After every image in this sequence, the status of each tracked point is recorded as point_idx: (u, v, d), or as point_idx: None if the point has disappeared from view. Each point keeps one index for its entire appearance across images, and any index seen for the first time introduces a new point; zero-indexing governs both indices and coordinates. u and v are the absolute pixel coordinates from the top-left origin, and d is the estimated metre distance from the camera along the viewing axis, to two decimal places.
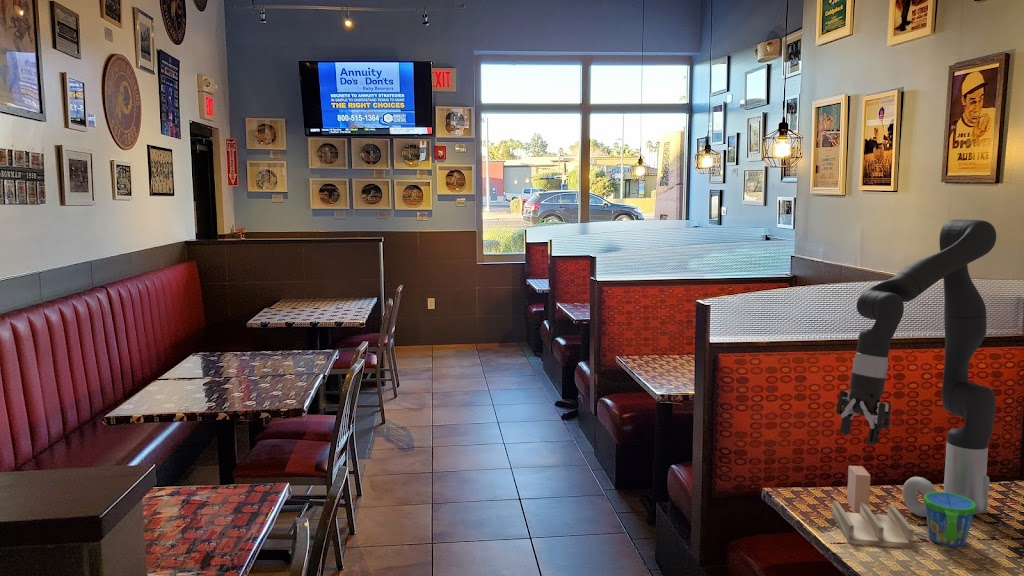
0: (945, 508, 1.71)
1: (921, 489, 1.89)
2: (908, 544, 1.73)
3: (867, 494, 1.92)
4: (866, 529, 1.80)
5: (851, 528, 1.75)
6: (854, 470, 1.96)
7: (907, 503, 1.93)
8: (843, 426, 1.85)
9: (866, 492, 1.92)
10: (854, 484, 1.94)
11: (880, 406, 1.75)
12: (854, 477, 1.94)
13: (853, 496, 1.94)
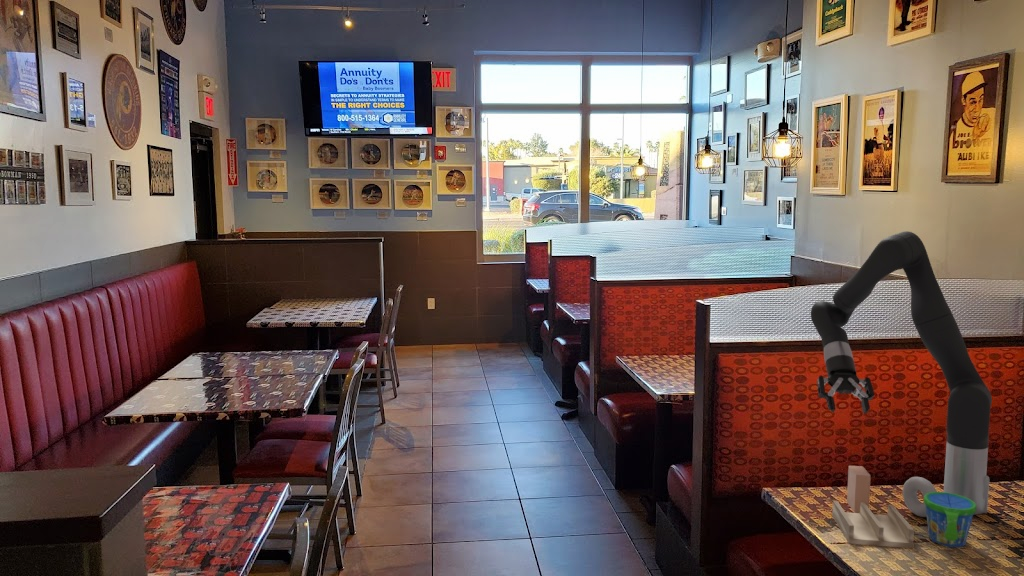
0: (945, 508, 1.71)
1: (921, 489, 1.89)
2: (908, 544, 1.73)
3: (867, 494, 1.92)
4: (866, 529, 1.80)
5: (851, 528, 1.75)
6: (854, 470, 1.96)
7: (907, 503, 1.93)
8: None
9: (866, 492, 1.92)
10: (854, 484, 1.94)
11: None
12: (854, 477, 1.94)
13: (853, 496, 1.94)
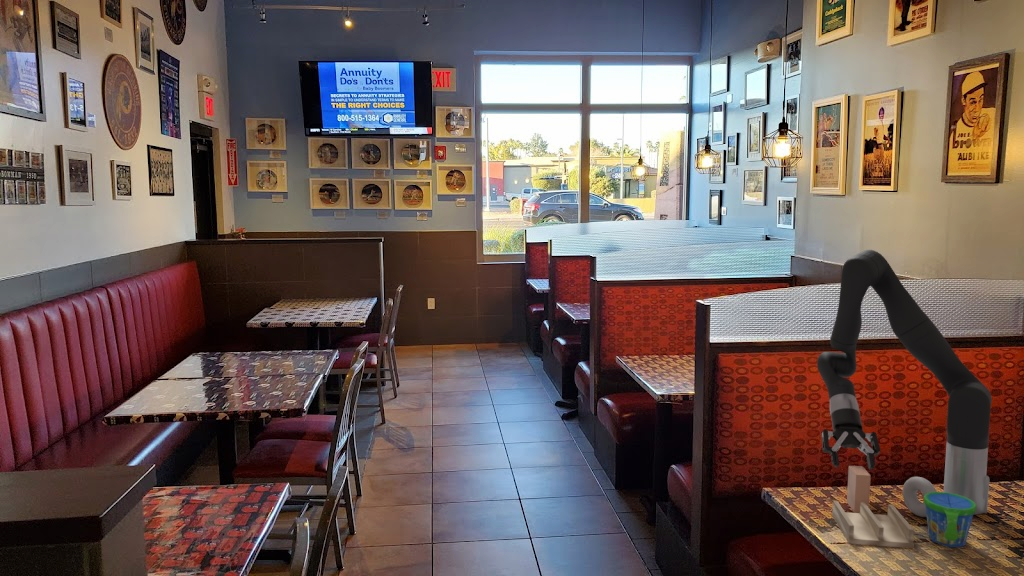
0: (945, 508, 1.71)
1: (921, 489, 1.88)
2: (908, 544, 1.73)
3: (867, 494, 1.92)
4: (866, 529, 1.80)
5: (851, 528, 1.75)
6: (854, 470, 1.96)
7: (907, 503, 1.93)
8: None
9: (866, 492, 1.92)
10: (854, 484, 1.94)
11: None
12: (854, 477, 1.94)
13: (853, 496, 1.94)
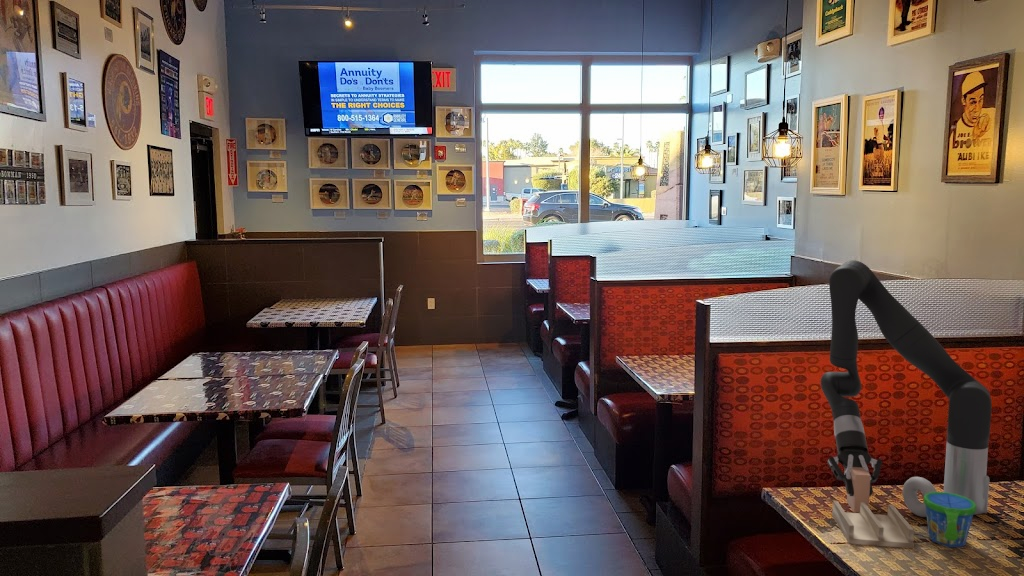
0: (945, 508, 1.71)
1: (921, 489, 1.89)
2: (908, 544, 1.73)
3: (867, 494, 1.92)
4: (866, 529, 1.80)
5: (851, 528, 1.75)
6: (854, 470, 1.96)
7: (907, 503, 1.93)
8: None
9: (866, 492, 1.92)
10: (854, 484, 1.94)
11: None
12: (854, 477, 1.94)
13: (853, 495, 1.94)
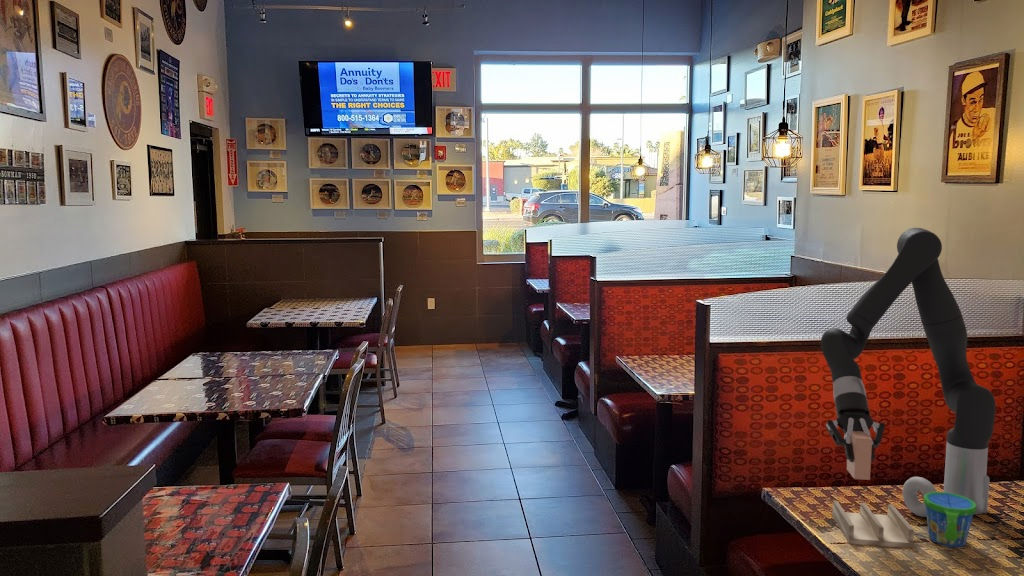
0: (945, 508, 1.71)
1: (921, 489, 1.89)
2: (908, 544, 1.73)
3: (868, 459, 1.78)
4: (866, 529, 1.80)
5: (851, 528, 1.75)
6: (854, 434, 1.81)
7: (907, 503, 1.93)
8: None
9: (867, 457, 1.78)
10: (854, 448, 1.79)
11: None
12: (854, 441, 1.79)
13: (853, 461, 1.79)
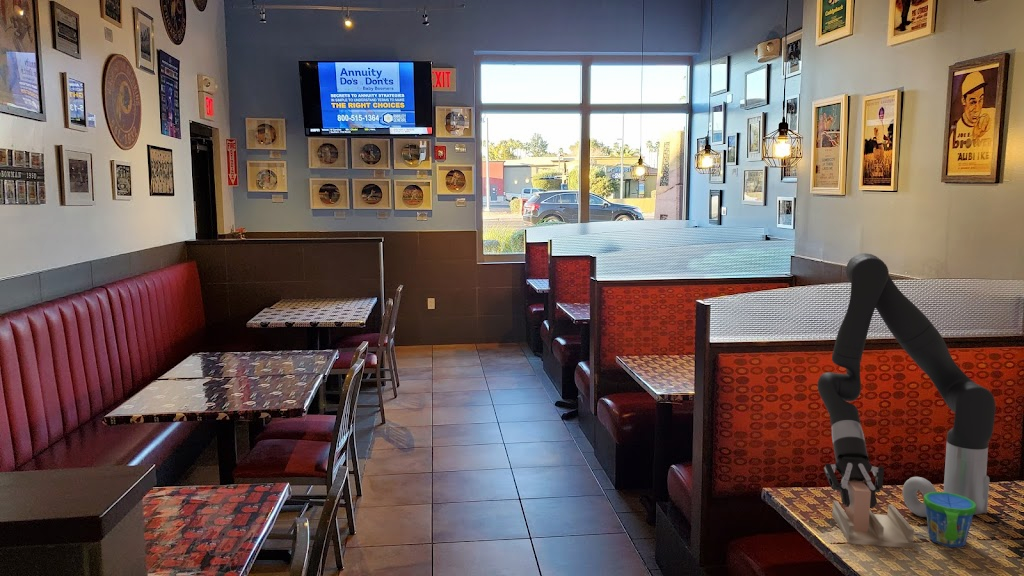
0: (945, 508, 1.71)
1: (921, 489, 1.89)
2: (908, 544, 1.73)
3: (867, 511, 1.78)
4: None
5: (851, 528, 1.75)
6: (853, 485, 1.81)
7: (907, 503, 1.93)
8: None
9: (866, 510, 1.78)
10: (853, 500, 1.80)
11: None
12: (853, 493, 1.80)
13: (852, 513, 1.80)
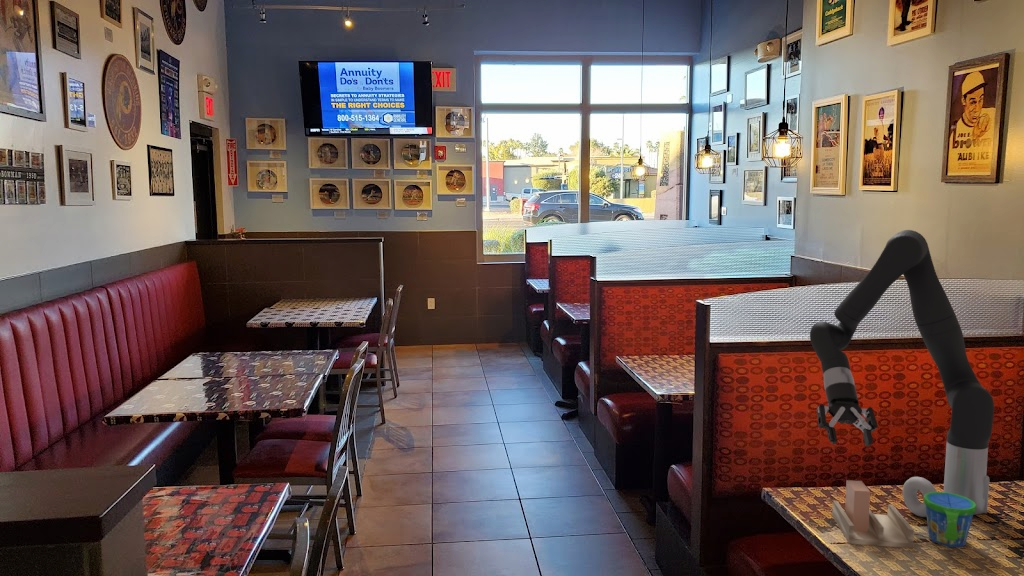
0: (945, 508, 1.71)
1: (921, 489, 1.89)
2: (908, 544, 1.73)
3: (866, 511, 1.78)
4: None
5: (851, 528, 1.75)
6: (852, 485, 1.81)
7: (907, 503, 1.93)
8: None
9: (865, 510, 1.78)
10: (852, 501, 1.80)
11: None
12: (852, 493, 1.80)
13: (852, 513, 1.80)
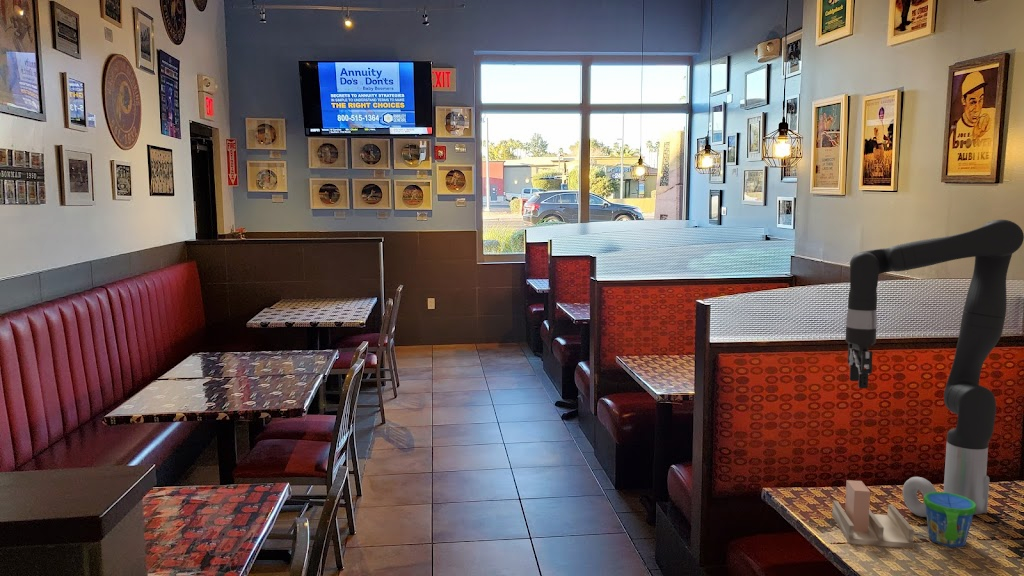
0: (945, 508, 1.71)
1: (921, 489, 1.88)
2: (908, 544, 1.73)
3: (866, 511, 1.78)
4: None
5: (851, 528, 1.75)
6: (852, 485, 1.81)
7: (907, 503, 1.93)
8: (850, 374, 2.09)
9: (865, 510, 1.78)
10: (852, 501, 1.80)
11: (861, 354, 1.98)
12: (852, 493, 1.80)
13: (852, 513, 1.80)
